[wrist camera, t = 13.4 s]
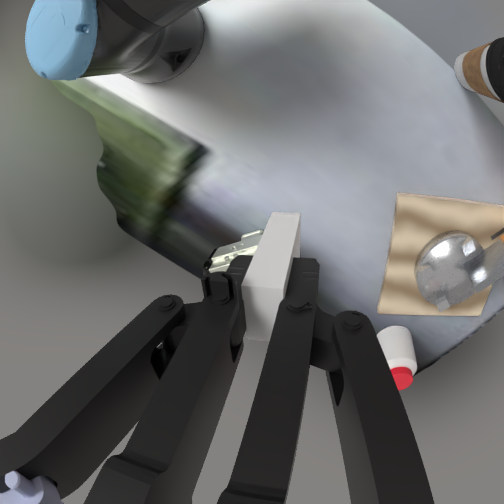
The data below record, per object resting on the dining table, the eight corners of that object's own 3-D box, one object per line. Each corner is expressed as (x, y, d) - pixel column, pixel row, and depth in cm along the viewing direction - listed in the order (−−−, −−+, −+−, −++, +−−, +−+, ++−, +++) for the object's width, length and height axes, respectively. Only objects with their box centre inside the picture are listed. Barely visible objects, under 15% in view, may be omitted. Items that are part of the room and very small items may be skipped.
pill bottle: (418, 338, 55) (426, 380, 45) (388, 356, 59) (392, 399, 50) (397, 319, 53) (405, 363, 44) (367, 339, 57) (369, 383, 48)
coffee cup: (451, 99, 33) (502, 111, 20) (441, 43, 29) (489, 30, 16) (496, 100, 30) (555, 115, 18) (488, 46, 26) (544, 41, 14)
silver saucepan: (430, 308, 48) (440, 341, 41) (401, 256, 45) (411, 288, 38) (536, 241, 37) (558, 267, 30) (519, 179, 33) (547, 200, 26)
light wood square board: (397, 192, 42) (399, 196, 41) (511, 206, 37) (516, 210, 36) (377, 308, 53) (378, 314, 52) (477, 310, 48) (480, 316, 47)
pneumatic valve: (294, 242, 50) (284, 286, 40) (231, 259, 55) (209, 303, 45) (282, 212, 48) (268, 251, 38) (217, 232, 53) (190, 272, 43)
